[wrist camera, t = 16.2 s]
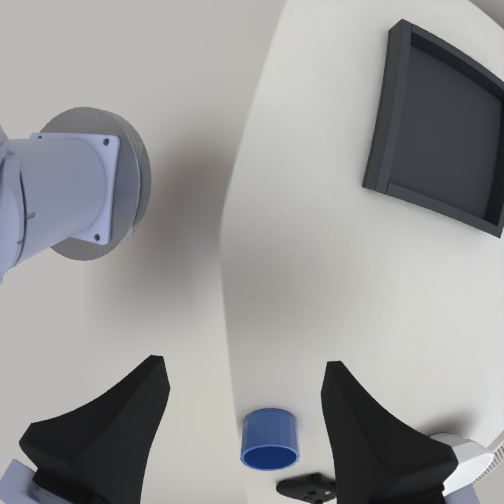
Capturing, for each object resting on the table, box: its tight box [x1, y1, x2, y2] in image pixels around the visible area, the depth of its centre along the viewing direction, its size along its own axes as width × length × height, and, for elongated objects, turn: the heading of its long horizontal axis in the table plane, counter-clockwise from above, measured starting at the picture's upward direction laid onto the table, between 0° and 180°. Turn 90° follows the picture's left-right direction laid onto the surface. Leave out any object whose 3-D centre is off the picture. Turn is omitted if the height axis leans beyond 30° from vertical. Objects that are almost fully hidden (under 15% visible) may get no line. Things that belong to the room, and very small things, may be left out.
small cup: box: [240, 409, 300, 471], centre depth 23 cm, size 5×5×4 cm
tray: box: [362, 19, 504, 238], centre depth 15 cm, size 13×13×2 cm
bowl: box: [429, 433, 494, 496], centre depth 25 cm, size 19×20×8 cm
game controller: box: [276, 474, 337, 504], centre depth 29 cm, size 10×5×6 cm
